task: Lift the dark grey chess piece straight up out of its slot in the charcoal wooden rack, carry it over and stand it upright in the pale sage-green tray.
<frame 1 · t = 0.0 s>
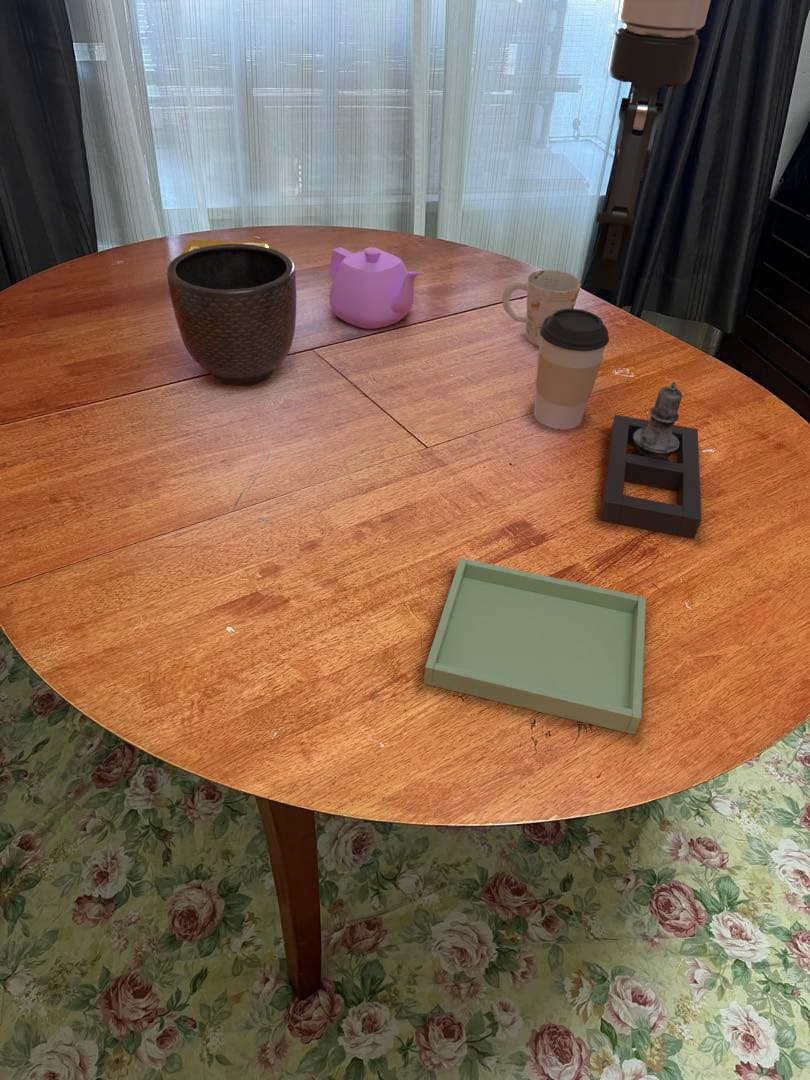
hand: (606, 263, 82), 26 cm above the table, tool pointing down, fingers open, 13 cm apart
planter: (243, 372, 114), on the table
teapot: (374, 316, 130), on the table
coffee cup: (557, 417, 108), on the table
dark grey chess piece: (648, 463, 101), resting in rack
rack: (648, 481, 97), on the table
element tile: (225, 280, 139), on the table
tray: (537, 646, 76), on the table
mug: (532, 336, 127), on the table
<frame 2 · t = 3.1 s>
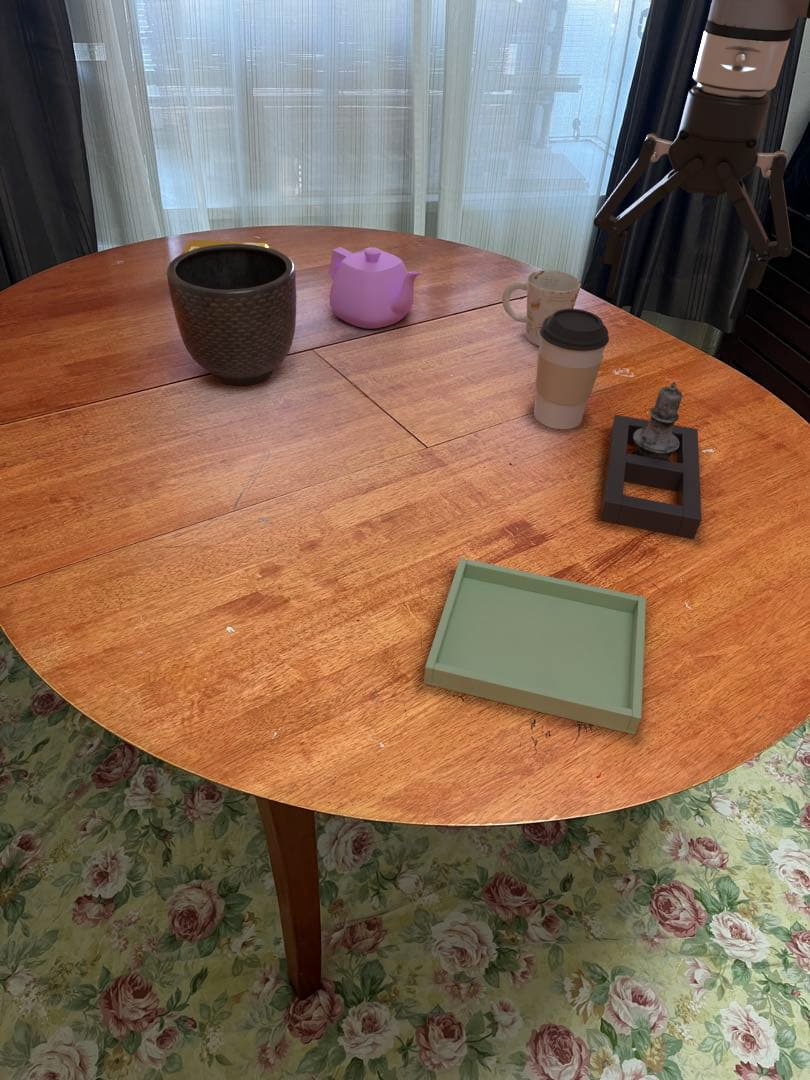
hand: (670, 303, 86), 22 cm above the table, tool pointing down, fingers open, 13 cm apart
nothing on the table moved.
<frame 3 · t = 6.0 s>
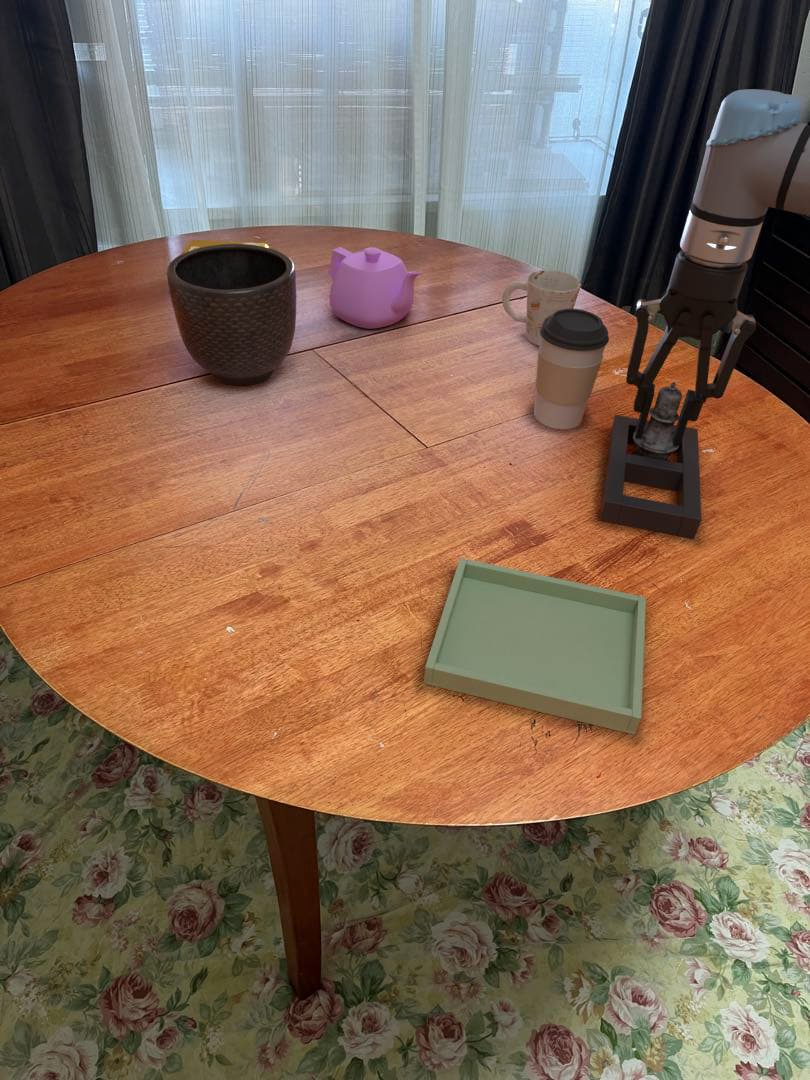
hand: (657, 436, 98), 4 cm above the table, tool pointing down, fingers closed on dark grey chess piece, 4 cm apart
dark grey chess piece: (648, 463, 101), resting in rack, touching gripper
everything else where it was.
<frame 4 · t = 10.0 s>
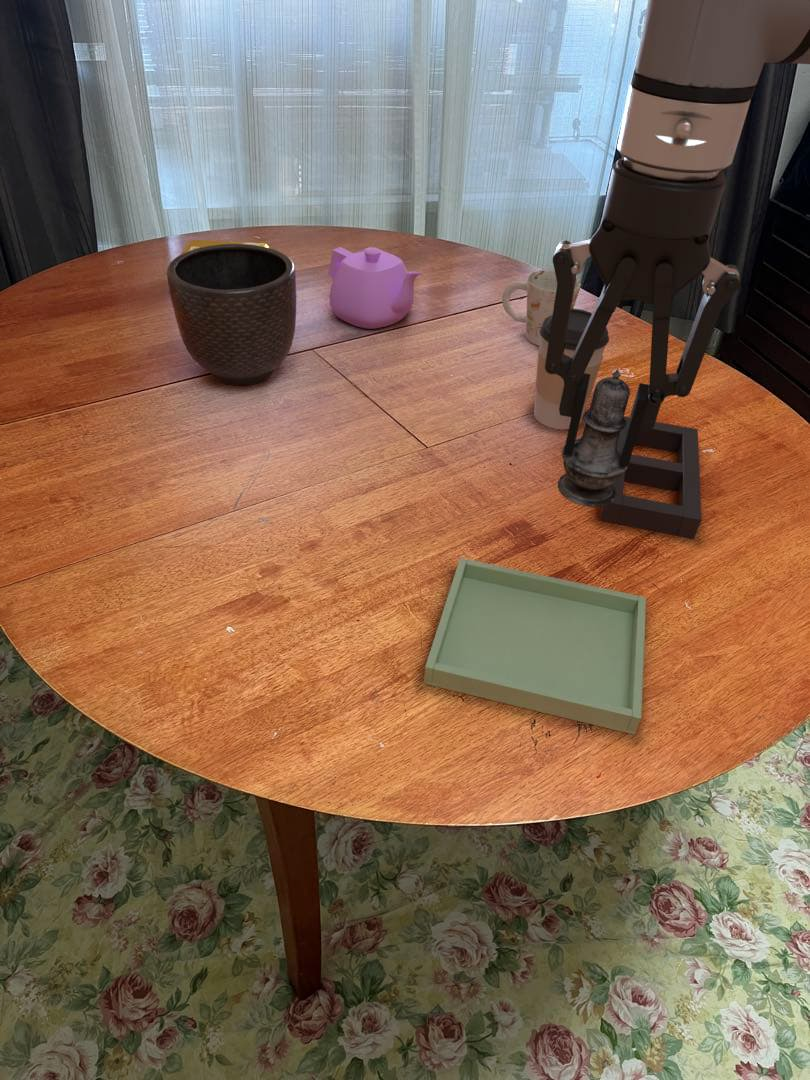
hand: (596, 451, 66), 20 cm above the table, tool pointing down, fingers closed on dark grey chess piece, 4 cm apart
dark grey chess piece: (586, 490, 69), point 16 cm above the table, touching gripper
everything else where it was.
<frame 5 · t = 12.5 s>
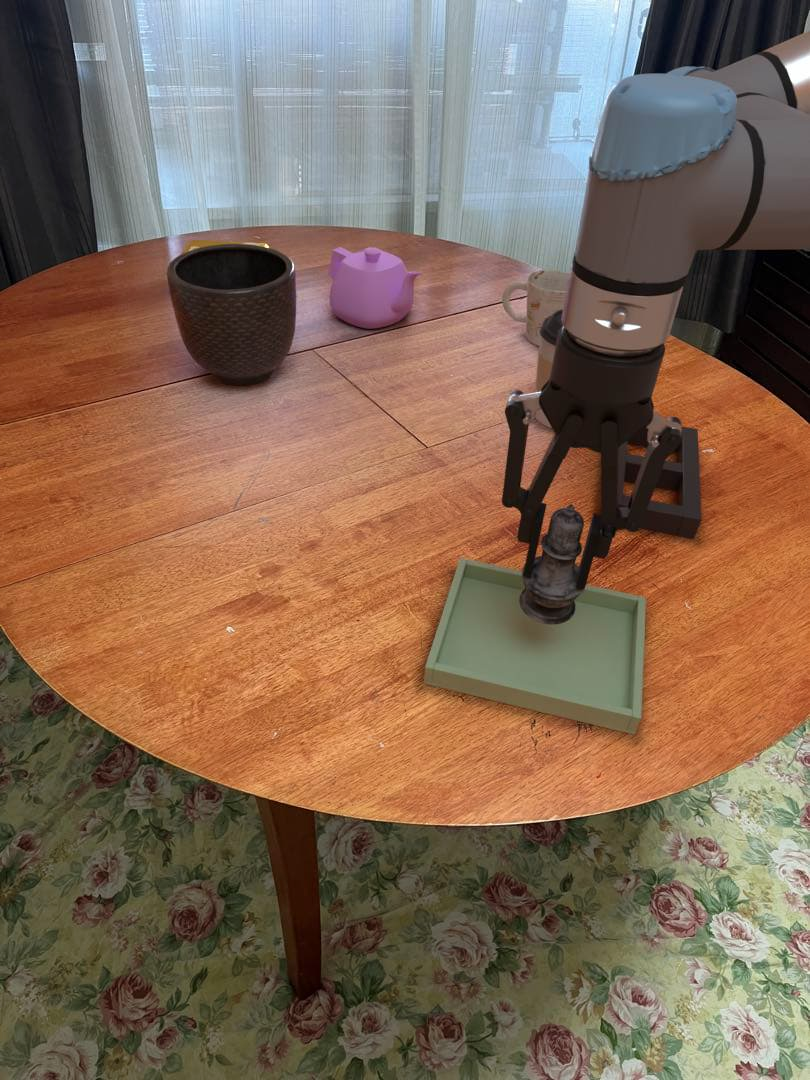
hand: (555, 572, 69), 10 cm above the table, tool pointing down, fingers closed on dark grey chess piece, 4 cm apart
dark grey chess piece: (546, 605, 72), point 6 cm above the table, touching gripper
everything else where it was.
when the fingers open (5 cm above the table, at t = 14.2 s): dark grey chess piece stays where it is, resting on tray.
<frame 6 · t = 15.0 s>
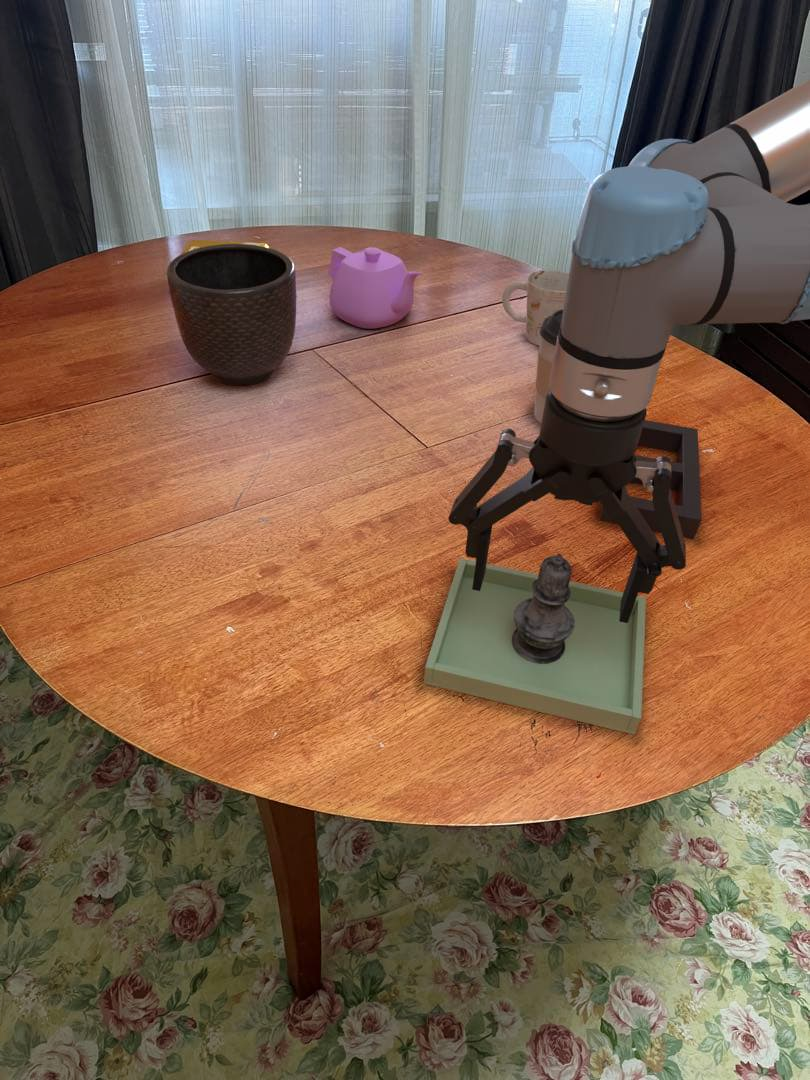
hand: (550, 596, 71), 7 cm above the table, tool pointing down, fingers open, 13 cm apart
dark grey chess piece: (537, 644, 75), resting on tray
everything else where it was.
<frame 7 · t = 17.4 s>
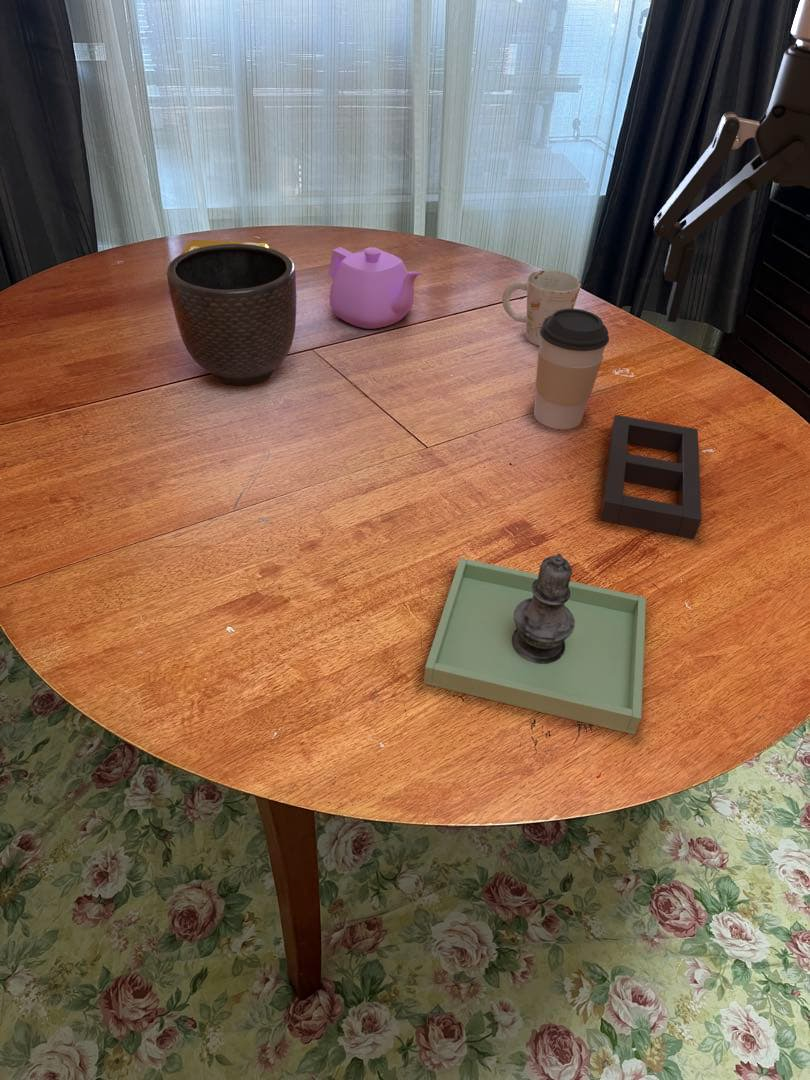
hand: (748, 325, 68), 28 cm above the table, tool pointing down, fingers open, 13 cm apart
nothing on the table moved.
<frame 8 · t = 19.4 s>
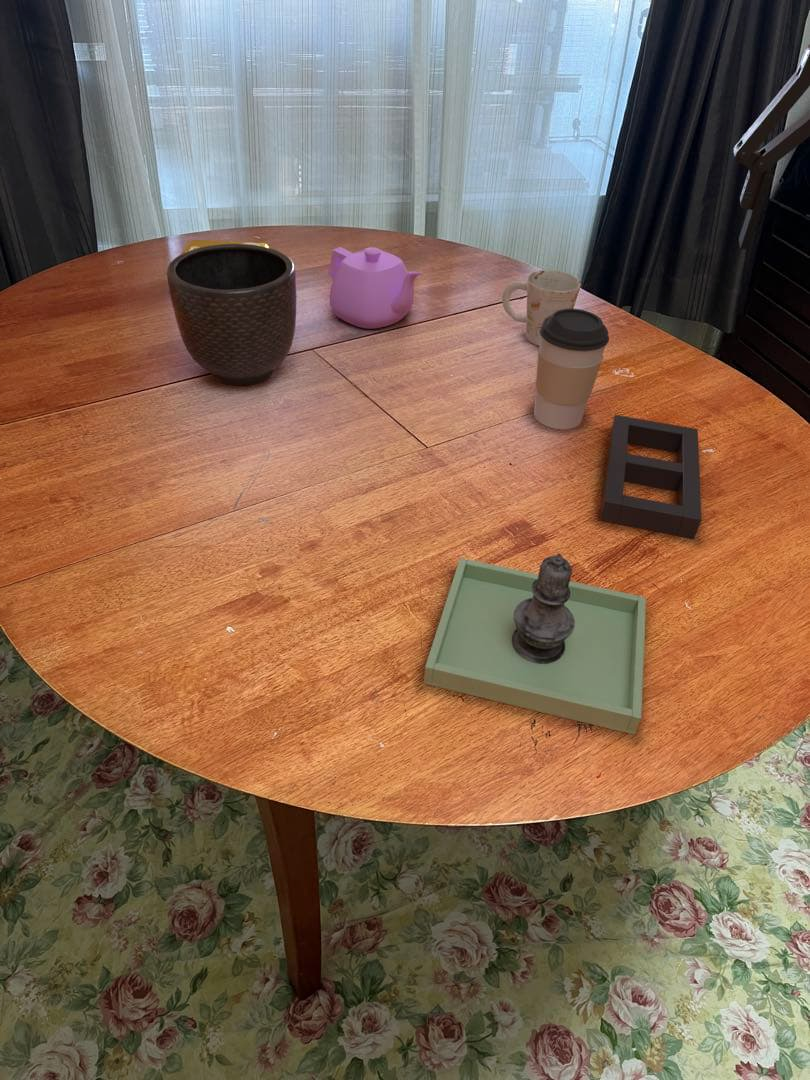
nothing on the table moved.
at the end: dark grey chess piece inside the target area in the tray (0.0 cm from its centre), point 0.3 cm above the tray's base; dark grey chess piece tilted 0°; the gripper is holding nothing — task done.
